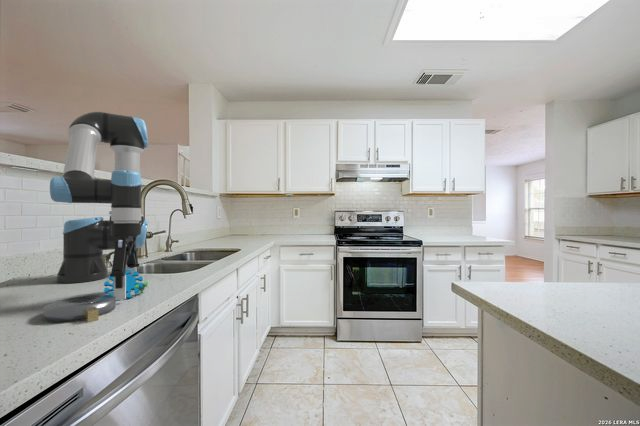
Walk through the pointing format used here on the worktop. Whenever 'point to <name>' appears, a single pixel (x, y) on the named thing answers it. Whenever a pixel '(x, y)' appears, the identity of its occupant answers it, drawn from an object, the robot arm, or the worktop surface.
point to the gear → (128, 284)
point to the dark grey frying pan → (79, 308)
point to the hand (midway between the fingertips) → (125, 293)
